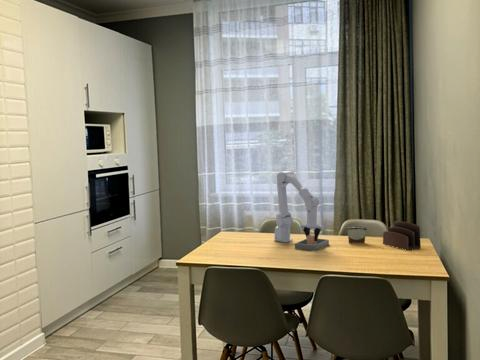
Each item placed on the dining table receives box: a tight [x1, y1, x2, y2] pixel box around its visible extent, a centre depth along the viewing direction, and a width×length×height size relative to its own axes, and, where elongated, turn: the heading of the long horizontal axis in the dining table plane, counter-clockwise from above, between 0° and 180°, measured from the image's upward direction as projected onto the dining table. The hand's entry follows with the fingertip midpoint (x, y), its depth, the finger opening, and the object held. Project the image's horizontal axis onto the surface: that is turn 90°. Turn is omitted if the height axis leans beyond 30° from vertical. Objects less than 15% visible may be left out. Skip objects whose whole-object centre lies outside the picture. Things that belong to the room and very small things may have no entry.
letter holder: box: [382, 220, 422, 251], centre depth 259 cm, size 10×20×14 cm, turn 25°
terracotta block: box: [306, 233, 317, 245], centre depth 263 cm, size 4×4×5 cm
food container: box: [345, 224, 368, 244], centre depth 272 cm, size 12×6×10 cm, turn 84°
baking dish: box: [294, 238, 330, 252], centre depth 263 cm, size 13×19×3 cm
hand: (312, 240), depth 263 cm, fingers closed on terracotta block, 4 cm apart
